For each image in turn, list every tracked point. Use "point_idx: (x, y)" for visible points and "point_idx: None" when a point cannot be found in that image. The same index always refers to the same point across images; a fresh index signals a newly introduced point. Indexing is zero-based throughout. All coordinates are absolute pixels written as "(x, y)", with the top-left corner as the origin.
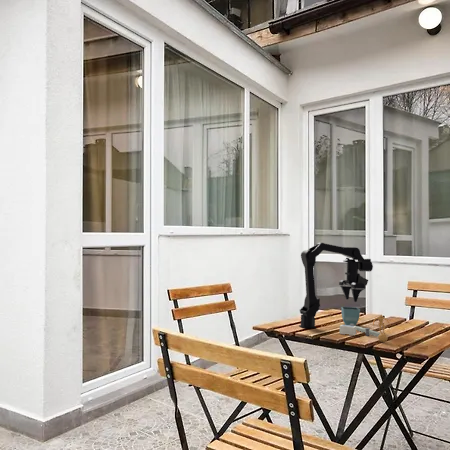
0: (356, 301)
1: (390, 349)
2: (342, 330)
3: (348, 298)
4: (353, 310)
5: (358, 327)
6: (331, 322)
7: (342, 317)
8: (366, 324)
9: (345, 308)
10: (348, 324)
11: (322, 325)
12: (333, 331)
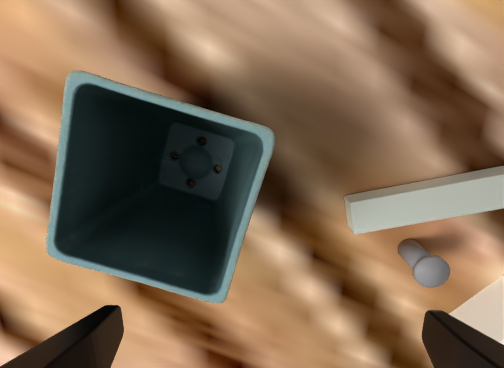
0: (444, 314)
1: None
2: None
3: (112, 316)
4: (253, 206)
5: (421, 211)
6: None
7: (142, 218)
8: (173, 5)
9: (69, 209)
10: (227, 190)
11: (216, 342)
12: (400, 355)
